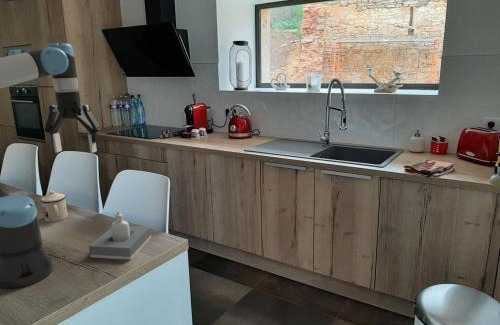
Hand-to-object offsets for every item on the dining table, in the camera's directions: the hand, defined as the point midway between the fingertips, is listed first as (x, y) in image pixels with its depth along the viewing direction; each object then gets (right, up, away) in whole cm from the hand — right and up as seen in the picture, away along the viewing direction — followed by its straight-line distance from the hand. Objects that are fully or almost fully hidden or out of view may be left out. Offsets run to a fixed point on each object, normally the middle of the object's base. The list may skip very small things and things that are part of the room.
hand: (76, 151), depth 136 cm
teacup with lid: (-17, -27, +21) cm, 38 cm away
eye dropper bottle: (+18, -32, -5) cm, 37 cm away
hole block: (+18, -33, -5) cm, 37 cm away
